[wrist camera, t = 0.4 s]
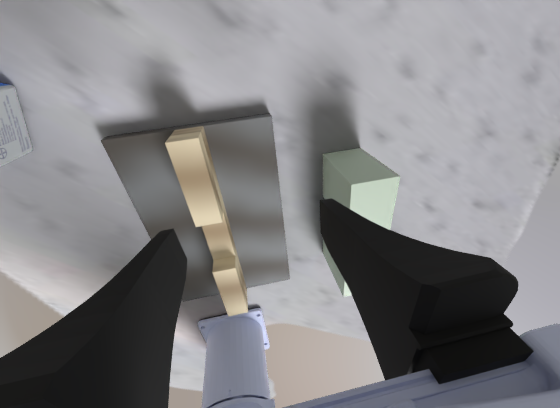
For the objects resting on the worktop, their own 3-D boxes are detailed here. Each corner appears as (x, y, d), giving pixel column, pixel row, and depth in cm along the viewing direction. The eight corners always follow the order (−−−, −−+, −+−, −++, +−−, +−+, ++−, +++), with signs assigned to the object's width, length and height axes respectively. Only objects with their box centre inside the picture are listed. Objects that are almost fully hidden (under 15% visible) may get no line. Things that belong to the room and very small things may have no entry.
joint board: (288, 272, 28) (295, 301, 25) (184, 293, 27) (177, 327, 24) (269, 113, 18) (278, 126, 15) (107, 136, 17) (77, 155, 14)
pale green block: (351, 247, 28) (378, 289, 23) (322, 253, 28) (343, 297, 22) (360, 147, 21) (400, 176, 16) (322, 153, 21) (351, 184, 16)
